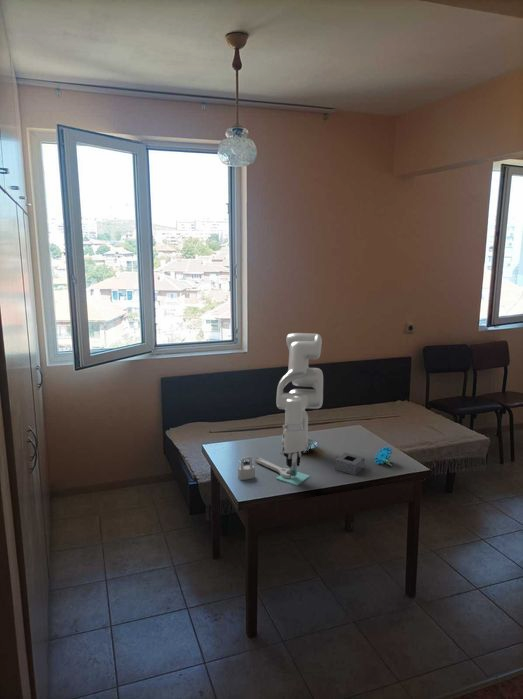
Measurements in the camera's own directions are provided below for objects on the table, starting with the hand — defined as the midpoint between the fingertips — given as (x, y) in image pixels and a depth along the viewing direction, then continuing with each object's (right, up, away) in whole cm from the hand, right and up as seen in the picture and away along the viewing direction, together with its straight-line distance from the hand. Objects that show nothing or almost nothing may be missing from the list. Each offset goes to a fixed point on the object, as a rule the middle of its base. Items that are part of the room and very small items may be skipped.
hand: (293, 465), depth 219 cm
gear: (+44, -3, +18) cm, 48 cm away
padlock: (-21, -6, +2) cm, 22 cm away
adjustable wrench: (-8, -4, +11) cm, 14 cm away
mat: (0, -6, +2) cm, 6 cm away
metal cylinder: (0, -4, +1) cm, 4 cm away
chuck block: (+27, -4, +12) cm, 30 cm away
